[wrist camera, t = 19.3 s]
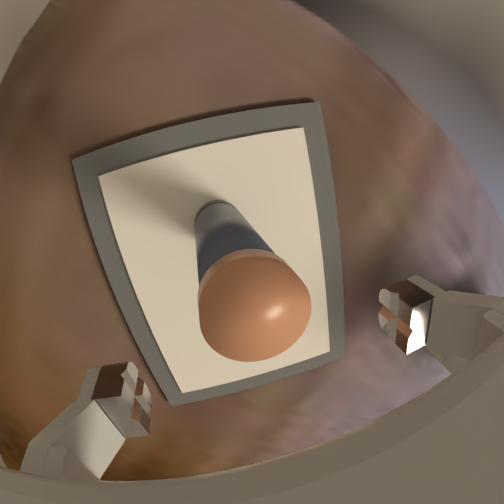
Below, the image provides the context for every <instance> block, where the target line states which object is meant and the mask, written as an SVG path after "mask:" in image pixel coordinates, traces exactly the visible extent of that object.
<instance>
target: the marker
mask: <svg viewBox="0 0 504 504" xmlns="http://www.w3.org/2000/svg"><path fill="white" fill-rule="evenodd" d="M194 228H195V243H196V257H197V269H198V281H199V289H198V298H197V299H198V311H199V322H200V329H201V332H202V335H203V337H204V339H205V340H206V342H207V343H208V345H209V346H210V347H211V348H212V349H213V350H214V351H216V352H217V353H219V354H220V355H222V356H224V357H226V358H228V359H232V360H235V361H241V362H255V361H262V360H266V359H269V358H272V357H274V356H277V355H279V354H281V353H282V352H284V351H286V350H287V349H288V348H290V347H291V346H292V345H293V344H294V343H295V342H296V341H297V340H298V339H299V338H300V337H301V335H302V334H303V332H304V331H305V329H306V327H307V325H308V322H309V319H310V315H311V298H310V294H309V291H308V289H307V287H306V285H305V284H304V282H303V281H302V280H301V279H300V278H299V276H298V275H297V274H296V273H295V272H294V271H293V270H292V268H291V267H290V266H289V265H288V264H287V263H286V262H285V261H284V260H283V259H282V258H280V257H279V256H278V255H276V254H275V253H274V252H273V250H272V249H271V248H270V247H269V246H268V245H267V243H266V242H265V241H264V240H263V239H262V238H261V236H260V235H259V234H258V233H257V232H256V231H255V229H254V228H253V227H252V226H251V225H250V224H249V222H248V221H247V220H246V219H245V218H244V217H243V215H242V214H241V213H240V212H239V211H238V210H237V209H236V207H235V206H233V205H232V204H231V203H229V202H226V201H223V200H214V201H210V202H208V203H206V204H205V205H203V206H202V207H201V208H200V209H199V211H198V212H197V214H196V217H195V221H194Z"/></svg>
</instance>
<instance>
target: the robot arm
mask: <svg viewBox="0 0 504 504" xmlns="http://www.w3.org/2000/svg"><path fill="white" fill-rule="evenodd" d="M379 302H380V303H381V304H382V307H381V309H380V311H379V323H380V326H381V329H382V330H383V332H384V333H385V334H386V335H387V336H388V337H391V338H395V344H396V345H397V346H398V347H399V348H400V349H401V350H402V351H403V352H405V353H406V354H408V353H410V352H412V351H414V350H416V349H418V348H420V347H422V346H424V345H426V346H428V347H431V348H434V349H437V350H440V351H442V352H445V353H448V354H451V355H454V356H457V357H460V358H463V359H466V360H469V362H468V363H467V364H465V365H464V366H463V367H461V368H460V369H459V370H457V371H456V372H454V373H453V374H452V375H450V376H449V377H447V378H446V379H444V380H443V381H441V382H440V383H438V384H437V385H435V386H434V387H432V388H430V389H429V390H427V391H426V392H424V393H422V394H421V395H419V396H418V397H416V398H414V399H412V400H411V401H409V402H407V403H406V404H404V405H402V406H400V407H398V408H397V409H395V410H393V411H391V412H389V413H387V414H385V415H383V416H381V417H379V418H377V419H375V420H373V421H371V422H369V423H367V424H365V425H363V426H361V427H359V428H356V429H354V430H352V431H350V432H347V433H345V434H343V435H340V436H338V437H335V438H333V439H330V440H328V441H325V442H323V443H320V444H317V445H315V446H312V447H309V448H306V449H303V450H300V451H297V452H294V453H291V454H288V455H285V456H282V457H278V458H275V459H271V460H268V461H264V462H260V463H256V464H252V465H248V466H244V467H239V468H235V469H230V470H225V471H220V472H214V473H208V474H202V475H195V476H188V477H180V478H170V479H159V480H143V481H101V480H100V478H101V476H102V475H103V473H104V472H105V470H106V469H107V467H108V466H109V464H110V463H111V461H112V460H113V458H114V456H115V455H116V453H117V452H118V450H119V449H120V447H121V446H122V444H123V443H124V441H125V440H126V439H125V438H131V437H139V436H146V435H149V433H150V418H149V416H148V415H147V413H148V412H149V410H150V409H151V397H150V392H149V390H148V387H147V385H146V384H145V382H144V381H143V380H141V379H139V378H138V370H137V368H136V366H135V365H134V363H132V362H130V361H129V362H123V363H117V364H110V365H104V366H97V367H91V368H90V369H88V371H87V374H86V376H85V379H84V382H83V385H82V387H81V390H80V393H79V396H78V399H77V401H76V402H72V403H71V404H70V405H69V406H68V407H67V408H66V409H65V410H63V411H62V412H61V413H60V414H59V415H58V416H57V417H56V418H55V419H54V420H53V421H52V422H50V423H49V424H48V425H47V426H46V427H45V428H44V429H43V430H42V431H41V432H40V433H39V434H38V435H37V436H35V437H34V438H33V439H32V440H31V441H30V442H29V444H28V447H27V450H26V452H25V456H24V459H23V462H22V465H21V468H20V471H17V470H13V469H9V468H4V467H1V466H0V504H504V297H498V296H490V295H482V294H474V293H466V292H458V291H450V290H449V291H447V292H446V291H444V290H442V289H441V288H439V287H437V286H436V285H434V284H432V283H431V282H429V281H427V280H426V279H424V278H422V277H420V276H419V275H413V276H411V277H409V278H407V279H404V280H403V281H401V282H398V283H396V284H394V285H391V286H389V287H386V288H384V289H381V290H380V293H379Z"/></svg>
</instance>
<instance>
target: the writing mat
mask: <svg viewBox="0 0 504 504" xmlns="http://www.w3.org/2000/svg"><path fill="white" fill-rule="evenodd" d="M72 163H73V167H74V172H75V176H76V180H77V184H78V188H79V192H80V195H81V199H82V203H83V206H84V210H85V213H86V216H87V220H88V223H89V226H90V229H91V232H92V235H93V238H94V241H95V244H96V247H97V250H98V253H99V256H100V258H101V261H102V264H103V267H104V269H105V272H106V274H107V277H108V280H109V282H110V285H111V287H112V289H113V292H114V294H115V297H116V299H117V301H118V304H119V306H120V308H121V311H122V313H123V315H124V317H125V320H126V322H127V324H128V326H129V328H130V330H131V332H132V334H133V337H134V339H135V341H136V343H137V345H138V347H139V349H140V351H141V353H142V355H143V356H144V358H145V360H146V362H147V364H148V366H149V368H150V370H151V371H152V373H153V375H154V377H155V379H156V381H157V382H158V384H159V386H160V388H161V389H162V391H163V393H164V394H165V396H166V398H167V399H168V401H169V403H170V404H171V406H174V405H179V404H185V403H190V402H195V401H200V400H204V399H209V398H213V397H218V396H222V395H226V394H230V393H234V392H238V391H242V390H245V389H249V388H253V387H256V386H260V385H263V384H267V383H270V382H274V381H277V380H280V379H283V378H286V377H289V376H293V375H296V374H299V373H302V372H305V371H307V370H310V369H313V368H316V367H319V366H321V365H324V364H327V363H330V362H332V361H335V360H337V359H340V358H343V357H345V313H344V289H343V272H342V258H341V246H340V235H339V224H338V215H337V206H336V198H335V190H334V182H333V175H332V168H331V162H330V155H329V149H328V143H327V137H326V131H325V126H324V120H323V115H322V110H321V105H320V102H312V103H301V104H291V105H283V106H275V107H267V108H261V109H254V110H248V111H242V112H236V113H231V114H225V115H220V116H215V117H210V118H206V119H201V120H197V121H192V122H188V123H184V124H180V125H176V126H172V127H168V128H165V129H161V130H157V131H154V132H150V133H147V134H144V135H140V136H137V137H134V138H131V139H127V140H124V141H121V142H118V143H115V144H112V145H110V146H107V147H104V148H101V149H98V150H96V151H93V152H90V153H88V154H85V155H83V156H80V157H78V158H75V159H73V160H72ZM214 200H223V201H226V202H229V203H231V204H232V205H233V206H235V207H236V209H237V210H238V211H239V212H240V213H241V214H242V215H243V217H244V218H245V219H246V220H247V221H248V222H249V224H250V225H251V226H252V227H253V228H254V229H255V231H256V232H257V233H258V234H259V235H260V236H261V238H262V239H263V240H264V241H265V242H266V243H267V245H268V246H269V247H270V248H271V249H272V250H273V252H274V253H275V254H276V255H278V256H279V257H280V258H282V259H283V260H284V261H285V262H286V263H287V264H288V265H289V266H290V267H291V268H292V270H293V271H294V272H295V273H296V274H297V275H298V276H299V278H300V279H301V280H302V281H303V282H304V284H305V285H306V287H307V289H308V291H309V294H310V298H311V315H310V319H309V322H308V325H307V327H306V329H305V331H304V332H303V334H302V335H301V337H300V338H299V339H298V340H297V341H296V342H295V343H294V344H293V345H292V346H291V347H290V348H288V349H287V350H286V351H284V352H282V353H281V354H279V355H277V356H274V357H272V358H269V359H266V360H262V361H255V362H241V361H235V360H232V359H228V358H226V357H224V356H222V355H220V354H219V353H217V352H216V351H214V350H213V349H212V348H211V347H210V346H209V345H208V343H207V342H206V340H205V339H204V337H203V335H202V332H201V329H200V322H199V311H198V299H197V298H198V289H199V281H198V269H197V257H196V243H195V228H194V221H195V217H196V214H197V212H198V211H199V209H200V208H201V207H202V206H203V205H205V204H206V203H208V202H210V201H214Z"/></svg>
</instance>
